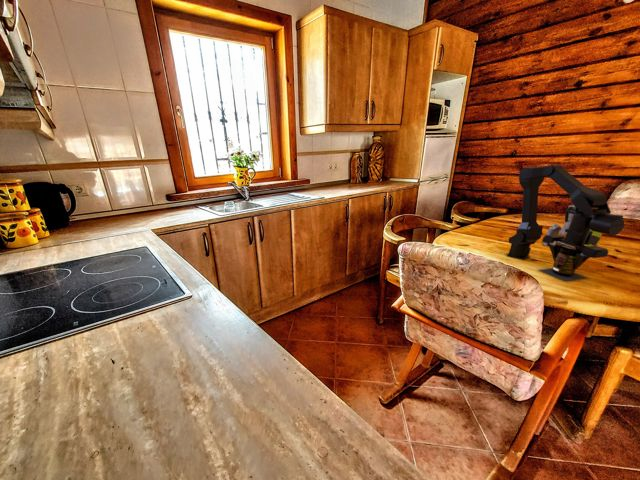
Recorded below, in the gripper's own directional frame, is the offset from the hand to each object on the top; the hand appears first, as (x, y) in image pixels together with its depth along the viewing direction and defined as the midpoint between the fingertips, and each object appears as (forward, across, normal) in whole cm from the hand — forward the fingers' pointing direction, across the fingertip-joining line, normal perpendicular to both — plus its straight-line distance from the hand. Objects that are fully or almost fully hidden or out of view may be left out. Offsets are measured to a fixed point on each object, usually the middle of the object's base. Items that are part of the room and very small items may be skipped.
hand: (565, 265), depth 109 cm
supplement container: (+3, 0, 0) cm, 3 cm away
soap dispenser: (+4, +19, -36) cm, 41 cm away
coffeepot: (+4, +37, -50) cm, 62 cm away
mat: (+4, 0, 0) cm, 4 cm away
